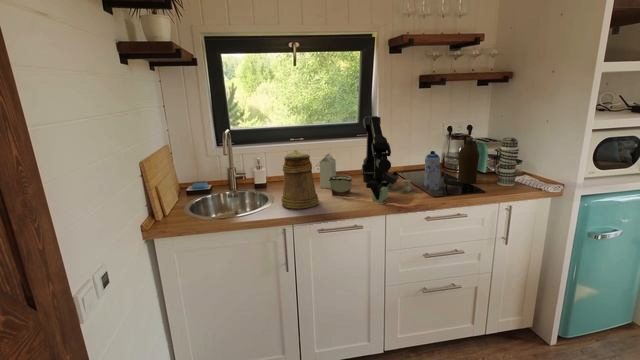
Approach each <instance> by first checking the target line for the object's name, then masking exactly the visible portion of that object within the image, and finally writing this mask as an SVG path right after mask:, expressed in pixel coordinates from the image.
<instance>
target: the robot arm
mask: <svg viewBox="0 0 640 360" xmlns="http://www.w3.org/2000/svg"><path fill="white" fill-rule="evenodd" d="M381 121H382V120H381V117H380V116H377V115H373V116H372V115H369V116H365V117H364V118H363V119H362V124H363V125H362V126H363V127H364V129H365V130H366V151H365V152H366V153H365V154H366V155H365V158H364V159H363V164H362V165H361V175H362V176H363V177H362V178H363V180H362V181H363V183H365V185H366V186H365V187H366V189H370V190H371V192H373V194H374V196H375V198H376V200H379V196H380V190H381V189H382V188H383V187H387V185H388V184H390V183H391V184H392V185H394V184H396V183H397V182H398V180H399V179H400V177H399V172H398V171H394V172H389V171H390V170H391V168H392V162H391V161H390V160H389V159H388V157H391V154H392V151H391V146H390V142H388V140H387V137H385V136H384V135H383V132H382V127H381Z"/></svg>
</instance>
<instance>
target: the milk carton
mask: <svg viewBox="0 0 640 360" xmlns="http://www.w3.org/2000/svg"><path fill="white" fill-rule="evenodd" d="M336 162H337V161H336V159H335V158H334V157H333V156H332V155H331V154H330V152H327V153H326V154H325V155H324V157H323V158H322V159H321V160H320V161H319V163H318V164H319V180H320V182H319V183H320V188H323V189H331V184H330V181H329V178H330V177H331V176H336V175H337V170H336V169H337V168H336V167H337V163H336Z"/></svg>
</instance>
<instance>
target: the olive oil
mask: <svg viewBox="0 0 640 360" xmlns="http://www.w3.org/2000/svg"><path fill="white" fill-rule="evenodd" d="M465 141H466V142H465V145H464V146H463V147H462V148H461V149H460V150H459V151H458V155H457V158H458V159H457V162H458V164H457V167H458V168H457V182H458V183H461V184H464V185H466V184H467V185H470V184H475V183H477V175H478V168H479V166H478V165H479V159H480V153H479V150H478V149H477V148H476V147H475V146H474V144H473V143H474V139H473V137H470V136H469V137H466V140H465Z"/></svg>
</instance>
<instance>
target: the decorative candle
mask: <svg viewBox="0 0 640 360" xmlns="http://www.w3.org/2000/svg"><path fill="white" fill-rule="evenodd" d="M500 142H501V146H500V148H498V150H499V152H498V157H499V158H498V163H499V167H498V170H497V172H498V173H497V175H498V176H497V180H496V181H497V182H496V184H497V185H499V186H503V187H513V186H515V184H516V181H515V180H516V178H515V177H516V174H517V172H516V166H517V165H516V164H517V163H518V162H517V161H518V157H519V156H518V155H519V151H520V149H518V143H519V140H517V138H516V137H511V136H510V137H504V138H503V139H502V140H500Z"/></svg>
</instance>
